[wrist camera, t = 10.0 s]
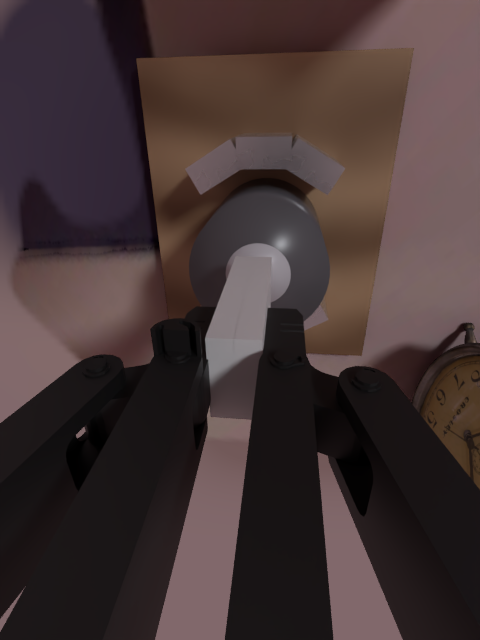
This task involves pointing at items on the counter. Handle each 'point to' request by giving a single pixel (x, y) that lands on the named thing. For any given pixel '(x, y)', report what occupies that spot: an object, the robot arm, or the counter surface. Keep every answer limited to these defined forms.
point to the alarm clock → (455, 402)
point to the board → (280, 117)
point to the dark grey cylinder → (264, 245)
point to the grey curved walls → (269, 155)
